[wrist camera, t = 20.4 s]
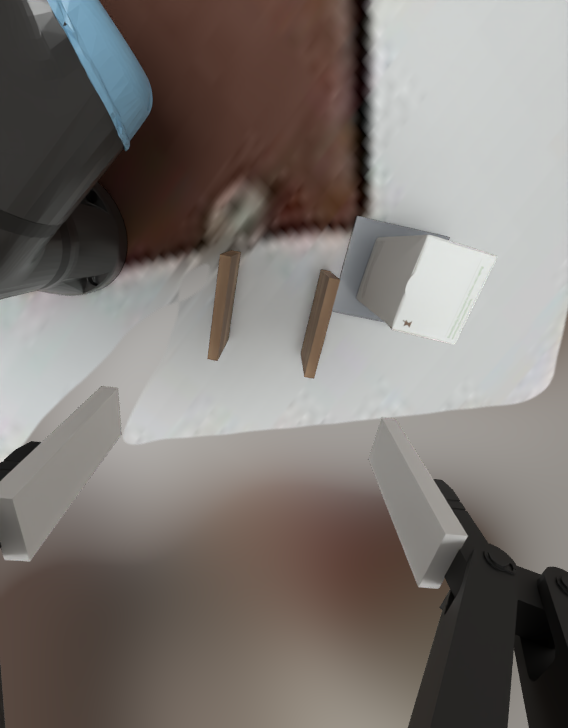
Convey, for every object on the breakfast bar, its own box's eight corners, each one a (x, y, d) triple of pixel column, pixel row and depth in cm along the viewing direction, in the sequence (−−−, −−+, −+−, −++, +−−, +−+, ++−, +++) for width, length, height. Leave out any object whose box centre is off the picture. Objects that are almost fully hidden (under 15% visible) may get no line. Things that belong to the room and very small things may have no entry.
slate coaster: (331, 310, 43) (331, 311, 43) (356, 216, 39) (357, 215, 38) (413, 327, 44) (415, 328, 44) (447, 237, 40) (450, 237, 39)
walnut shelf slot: (219, 337, 45) (207, 358, 37) (231, 250, 40) (220, 254, 33) (308, 354, 46) (313, 378, 38) (329, 271, 41) (340, 279, 34)
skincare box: (397, 311, 43) (455, 351, 28) (351, 298, 42) (387, 333, 28) (423, 247, 40) (504, 256, 25) (374, 232, 39) (428, 233, 24)
